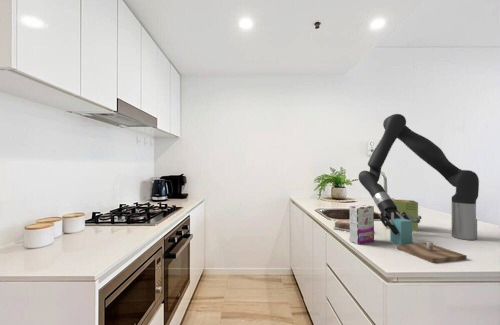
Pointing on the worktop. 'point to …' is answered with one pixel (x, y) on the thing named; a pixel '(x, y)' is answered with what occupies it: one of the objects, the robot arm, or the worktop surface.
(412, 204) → the protein box
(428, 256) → the plate
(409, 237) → the teal rectangular block
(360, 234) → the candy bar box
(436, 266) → the worktop surface
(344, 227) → the packaged product
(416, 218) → the mechanical component
